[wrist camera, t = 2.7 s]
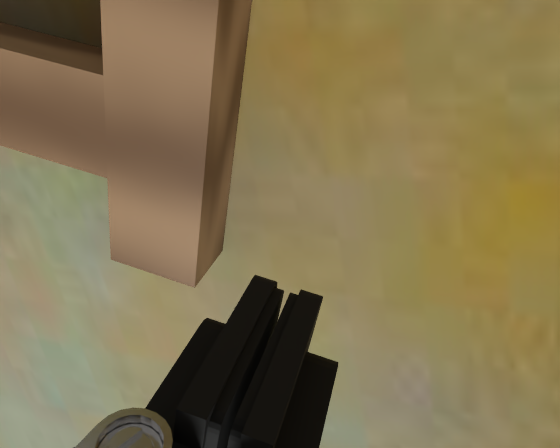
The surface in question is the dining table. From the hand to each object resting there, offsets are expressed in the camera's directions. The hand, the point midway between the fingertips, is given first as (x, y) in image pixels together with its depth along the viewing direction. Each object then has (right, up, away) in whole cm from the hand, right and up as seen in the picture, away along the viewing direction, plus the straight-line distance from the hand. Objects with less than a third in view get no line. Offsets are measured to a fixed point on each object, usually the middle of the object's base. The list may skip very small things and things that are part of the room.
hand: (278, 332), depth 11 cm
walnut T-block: (-7, +8, +9) cm, 14 cm away
